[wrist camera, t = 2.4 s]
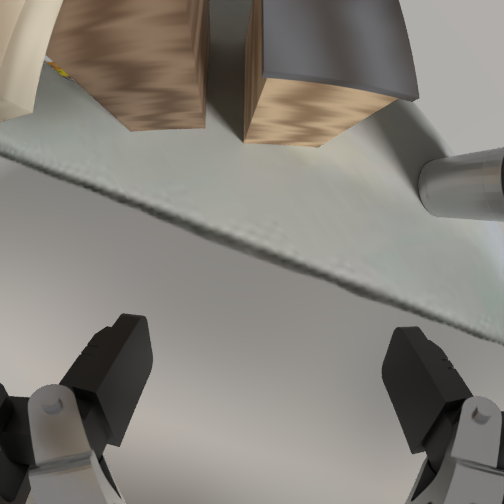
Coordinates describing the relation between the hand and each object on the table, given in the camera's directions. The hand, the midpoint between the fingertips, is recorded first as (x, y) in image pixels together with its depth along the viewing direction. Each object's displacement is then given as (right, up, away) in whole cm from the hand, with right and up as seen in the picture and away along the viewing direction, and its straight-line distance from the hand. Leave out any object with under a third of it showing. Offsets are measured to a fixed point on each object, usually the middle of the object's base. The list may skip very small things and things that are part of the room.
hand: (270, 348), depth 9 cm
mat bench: (+3, +25, +28) cm, 38 cm away
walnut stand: (-12, +26, +27) cm, 39 cm away
